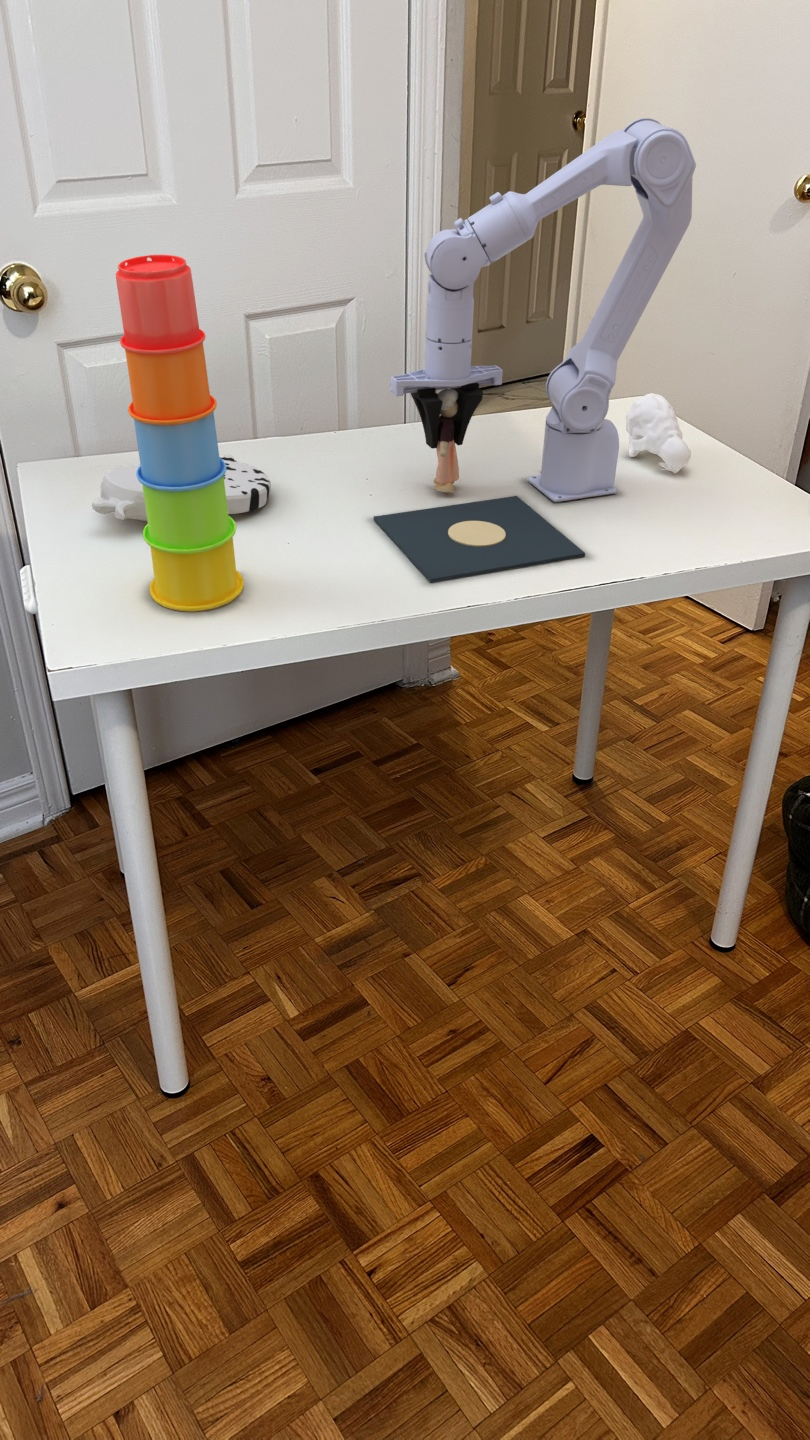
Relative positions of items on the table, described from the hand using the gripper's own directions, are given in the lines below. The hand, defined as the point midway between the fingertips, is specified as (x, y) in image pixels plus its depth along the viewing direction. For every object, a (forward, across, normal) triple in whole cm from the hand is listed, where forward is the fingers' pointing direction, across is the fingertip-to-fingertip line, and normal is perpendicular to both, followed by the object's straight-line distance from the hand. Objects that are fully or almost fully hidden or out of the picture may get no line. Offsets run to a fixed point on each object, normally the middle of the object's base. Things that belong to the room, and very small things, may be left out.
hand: (444, 444), depth 146 cm
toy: (+6, +33, -6) cm, 34 cm away
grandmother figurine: (+6, 0, 0) cm, 6 cm away
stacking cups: (+6, +37, +17) cm, 41 cm away
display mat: (+6, +2, +15) cm, 16 cm away
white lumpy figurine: (+7, -33, +1) cm, 34 cm away
